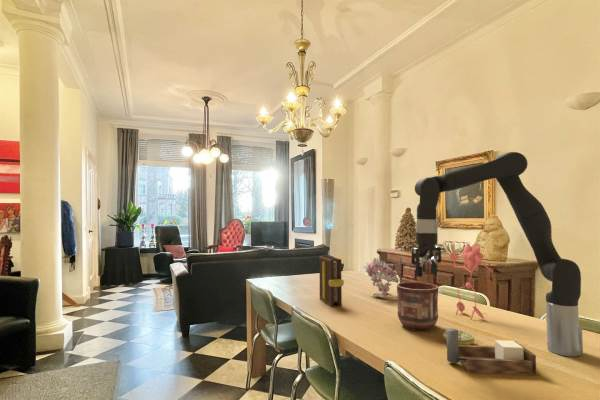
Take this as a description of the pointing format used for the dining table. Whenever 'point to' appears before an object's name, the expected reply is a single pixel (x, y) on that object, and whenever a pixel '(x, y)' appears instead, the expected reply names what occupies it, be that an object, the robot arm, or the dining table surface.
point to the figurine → (471, 259)
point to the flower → (385, 270)
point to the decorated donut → (462, 338)
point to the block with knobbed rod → (501, 352)
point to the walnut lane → (495, 361)
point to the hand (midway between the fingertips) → (426, 275)
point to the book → (330, 280)
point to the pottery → (417, 305)
